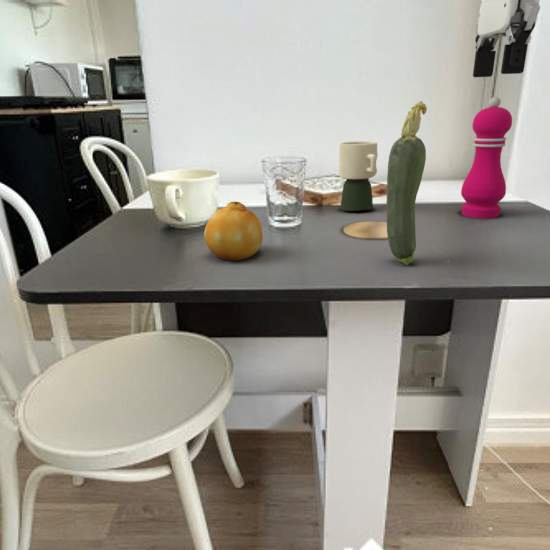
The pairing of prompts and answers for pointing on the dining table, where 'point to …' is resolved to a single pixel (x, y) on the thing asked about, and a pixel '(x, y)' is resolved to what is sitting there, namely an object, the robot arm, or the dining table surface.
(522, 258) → the dining table surface
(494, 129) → the pepper mill
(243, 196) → the dining table surface
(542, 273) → the dining table surface
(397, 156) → the vegetable
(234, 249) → the fruit
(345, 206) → the character mug
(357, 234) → the coaster
